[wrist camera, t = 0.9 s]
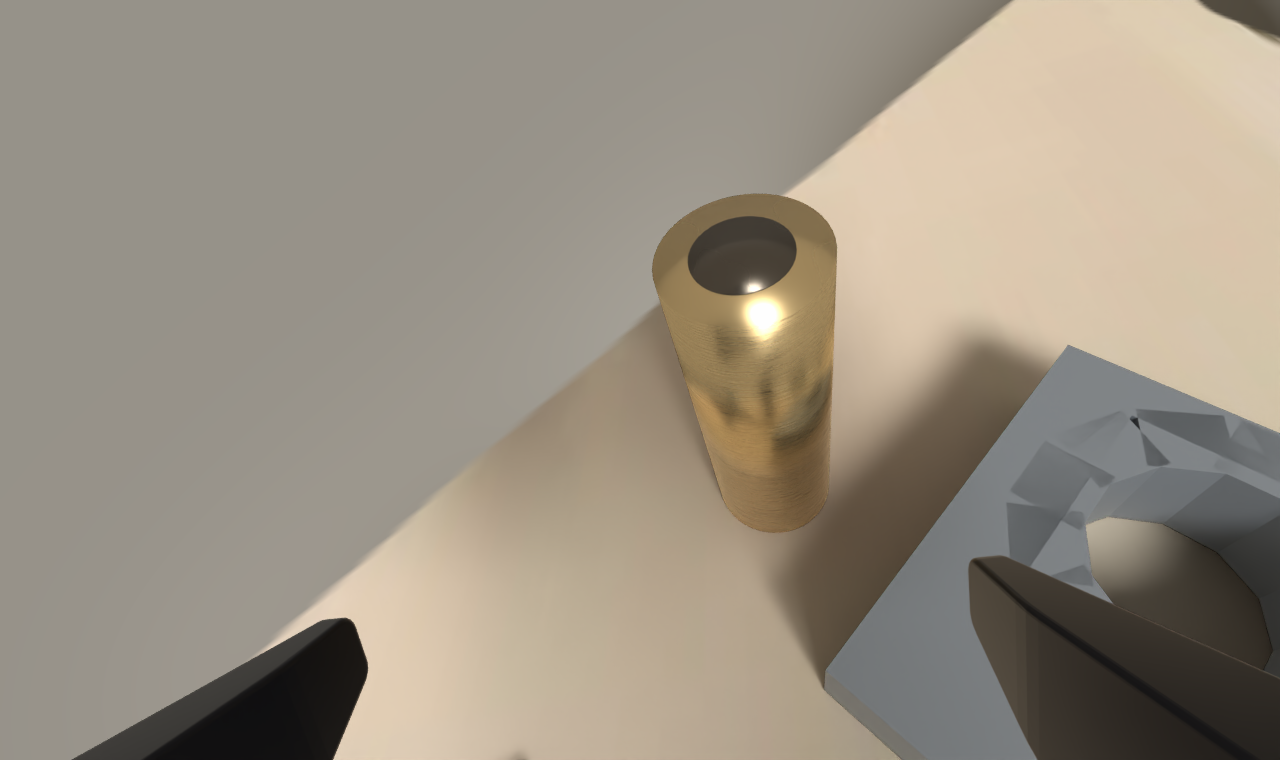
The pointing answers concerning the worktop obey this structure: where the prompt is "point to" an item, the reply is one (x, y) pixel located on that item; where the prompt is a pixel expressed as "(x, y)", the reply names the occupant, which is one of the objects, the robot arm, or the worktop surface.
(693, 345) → the bushing
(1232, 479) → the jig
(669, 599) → the worktop surface
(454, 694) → the worktop surface
